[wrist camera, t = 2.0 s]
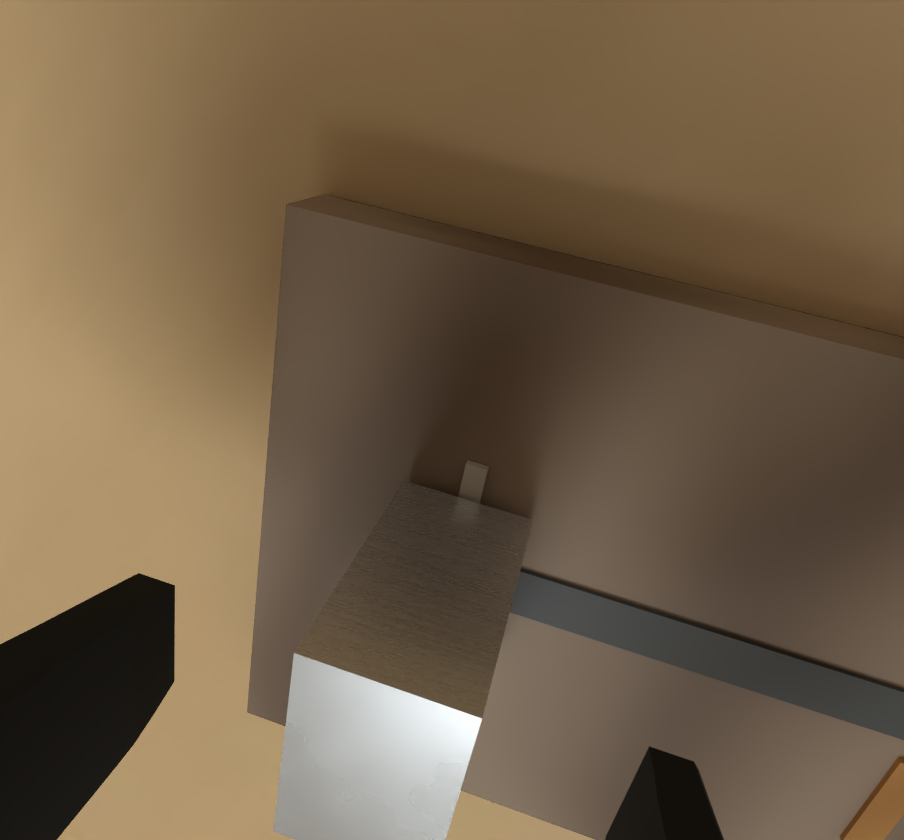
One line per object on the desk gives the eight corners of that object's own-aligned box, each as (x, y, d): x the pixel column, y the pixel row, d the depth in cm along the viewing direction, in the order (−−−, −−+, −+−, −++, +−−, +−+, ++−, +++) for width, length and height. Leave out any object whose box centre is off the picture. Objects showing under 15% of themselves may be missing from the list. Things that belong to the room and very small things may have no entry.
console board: (1643, 519, 10) (1821, 592, 8) (1112, 962, 15) (1162, 1052, 13) (324, 194, 12) (283, 205, 11) (276, 667, 18) (244, 715, 16)
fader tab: (533, 519, 12) (481, 718, 8) (489, 666, 13) (429, 891, 10) (403, 480, 12) (293, 652, 8) (376, 628, 14) (273, 830, 10)
